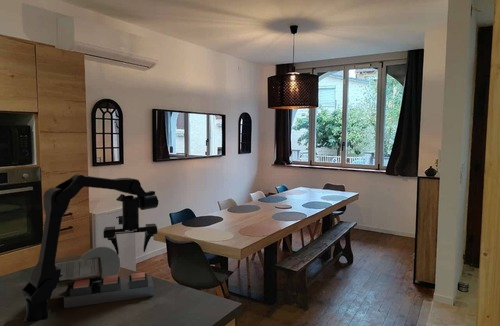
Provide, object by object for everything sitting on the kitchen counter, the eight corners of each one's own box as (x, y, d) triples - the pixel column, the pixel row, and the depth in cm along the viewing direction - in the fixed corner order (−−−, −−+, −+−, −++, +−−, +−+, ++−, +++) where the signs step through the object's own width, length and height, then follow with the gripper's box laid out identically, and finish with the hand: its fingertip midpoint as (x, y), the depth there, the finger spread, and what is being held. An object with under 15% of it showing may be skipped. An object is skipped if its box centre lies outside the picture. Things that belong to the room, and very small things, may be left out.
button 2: (117, 288, 120) (117, 279, 120) (103, 290, 118) (103, 281, 118) (117, 283, 124) (117, 275, 124) (104, 285, 122) (103, 276, 122)
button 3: (88, 292, 117) (88, 283, 117) (73, 294, 115) (73, 285, 115) (89, 287, 121) (89, 278, 121) (75, 288, 119) (75, 280, 119)
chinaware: (131, 267, 139) (129, 260, 133) (102, 300, 131) (99, 294, 125) (102, 246, 142) (98, 239, 136) (72, 277, 134) (67, 271, 127)
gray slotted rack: (153, 295, 123) (153, 279, 123) (64, 308, 113) (63, 290, 113) (151, 284, 132) (151, 269, 132) (68, 295, 123) (67, 278, 122)
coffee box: (52, 271, 125) (102, 263, 131) (52, 289, 122) (102, 281, 128) (48, 263, 118) (100, 256, 123) (47, 283, 115) (101, 274, 120)
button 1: (145, 285, 123) (145, 276, 123) (131, 286, 121) (131, 278, 121) (144, 280, 127) (144, 272, 127) (131, 281, 126) (131, 273, 125)
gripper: (154, 206, 141) (155, 244, 142) (104, 209, 135) (105, 249, 136) (157, 211, 131) (157, 253, 132) (102, 215, 124) (103, 258, 125)
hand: (131, 253), depth 132 cm, fingers open, 9 cm apart
